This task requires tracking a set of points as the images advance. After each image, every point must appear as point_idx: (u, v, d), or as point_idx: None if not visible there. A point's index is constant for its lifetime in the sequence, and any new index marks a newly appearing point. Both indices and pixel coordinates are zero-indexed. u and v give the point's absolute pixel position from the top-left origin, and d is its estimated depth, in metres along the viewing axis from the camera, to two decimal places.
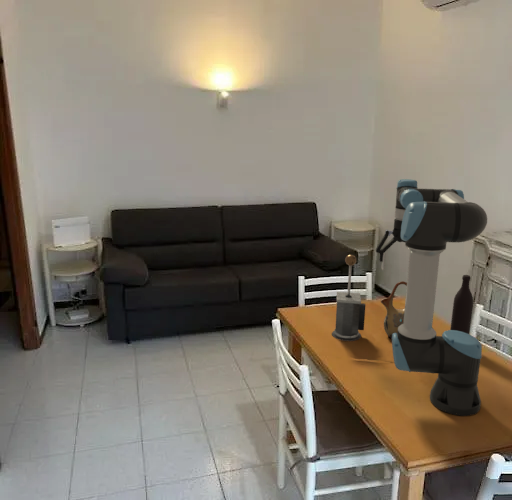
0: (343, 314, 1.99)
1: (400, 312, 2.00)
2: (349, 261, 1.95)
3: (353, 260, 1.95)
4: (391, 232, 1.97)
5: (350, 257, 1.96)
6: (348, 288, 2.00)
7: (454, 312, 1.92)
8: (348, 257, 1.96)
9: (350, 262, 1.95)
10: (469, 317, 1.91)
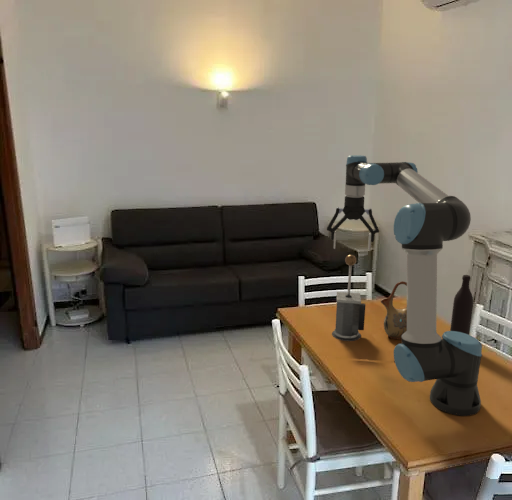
0: (343, 314, 1.99)
1: (400, 312, 2.00)
2: (349, 261, 1.95)
3: (353, 260, 1.95)
4: (342, 209, 1.93)
5: (350, 257, 1.96)
6: (348, 288, 2.00)
7: (454, 312, 1.92)
8: (348, 257, 1.96)
9: (350, 262, 1.95)
10: (469, 317, 1.91)
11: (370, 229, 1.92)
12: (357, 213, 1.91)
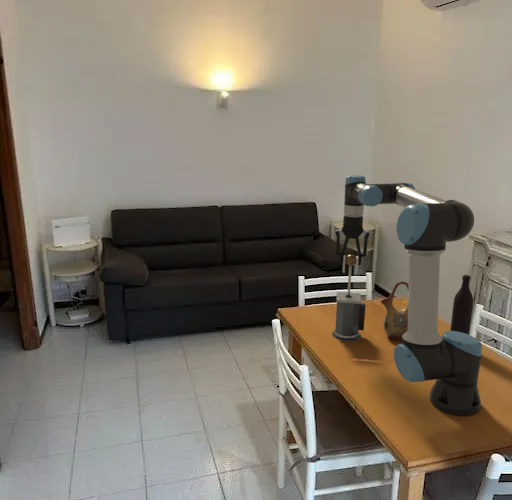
0: (343, 314, 1.99)
1: (400, 312, 2.00)
2: (349, 261, 1.95)
3: (353, 260, 1.95)
4: (341, 230, 1.94)
5: (350, 257, 1.96)
6: (348, 288, 2.00)
7: (454, 312, 1.92)
8: (348, 257, 1.96)
9: (350, 262, 1.95)
10: (469, 317, 1.91)
11: (359, 252, 1.95)
12: (356, 232, 1.92)
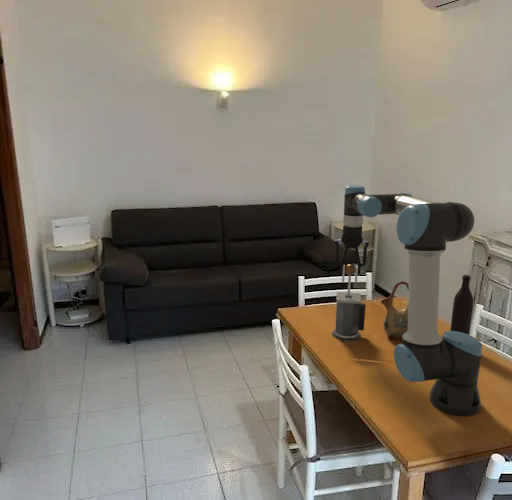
0: (343, 314, 1.99)
1: (400, 312, 2.00)
2: (348, 270, 1.96)
3: (352, 270, 1.96)
4: (340, 240, 1.95)
5: (349, 267, 1.97)
6: None
7: (454, 312, 1.92)
8: (347, 267, 1.97)
9: (349, 271, 1.96)
10: (469, 317, 1.91)
11: (358, 262, 1.96)
12: (355, 242, 1.93)
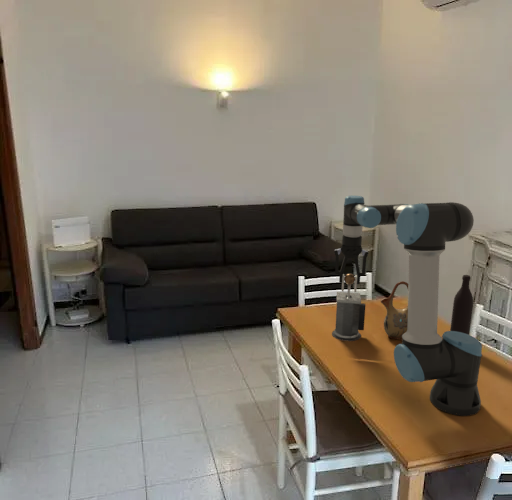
0: (343, 314, 1.99)
1: (400, 312, 2.00)
2: (348, 280, 1.97)
3: (352, 279, 1.97)
4: (340, 250, 1.96)
5: (349, 276, 1.98)
6: None
7: (454, 312, 1.92)
8: (347, 276, 1.98)
9: (348, 281, 1.97)
10: (469, 317, 1.91)
11: (358, 271, 1.97)
12: (354, 252, 1.94)
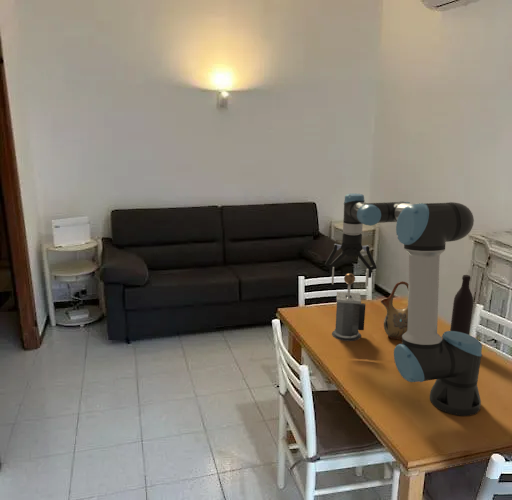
0: (343, 314, 1.99)
1: (400, 312, 2.00)
2: (348, 279, 1.97)
3: (352, 279, 1.97)
4: (340, 246, 1.96)
5: (349, 276, 1.98)
6: None
7: (454, 312, 1.92)
8: (347, 276, 1.98)
9: (349, 280, 1.97)
10: (469, 317, 1.91)
11: (368, 265, 1.95)
12: (355, 250, 1.94)
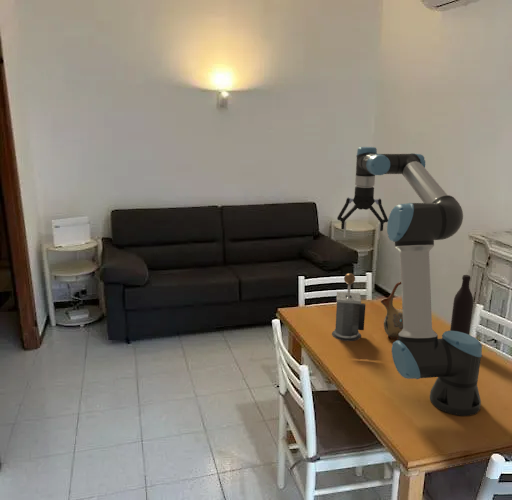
0: (343, 314, 1.99)
1: (400, 312, 2.00)
2: (348, 279, 1.97)
3: (352, 279, 1.97)
4: (352, 200, 1.98)
5: (349, 276, 1.98)
6: None
7: (454, 312, 1.92)
8: (347, 276, 1.98)
9: (349, 280, 1.97)
10: (469, 317, 1.91)
11: (379, 218, 1.98)
12: (367, 203, 1.96)
